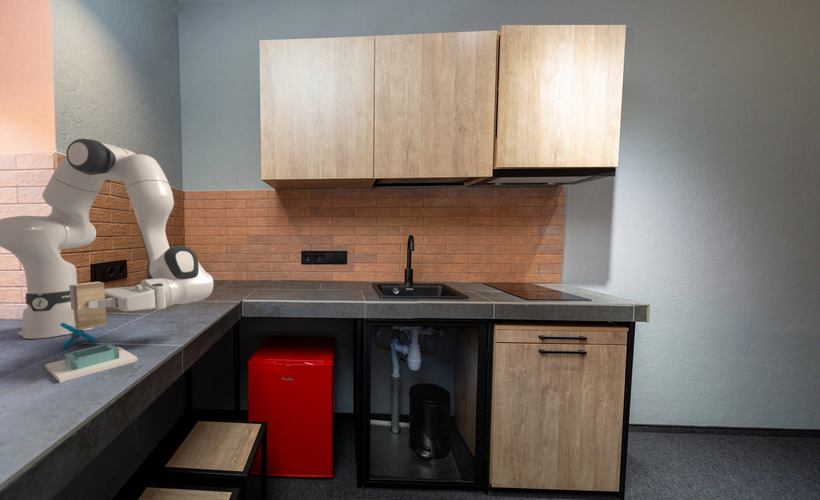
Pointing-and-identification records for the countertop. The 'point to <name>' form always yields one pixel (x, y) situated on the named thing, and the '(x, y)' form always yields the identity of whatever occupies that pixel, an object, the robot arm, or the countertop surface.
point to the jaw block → (79, 300)
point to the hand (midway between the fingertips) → (84, 303)
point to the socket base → (89, 362)
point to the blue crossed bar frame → (76, 335)
